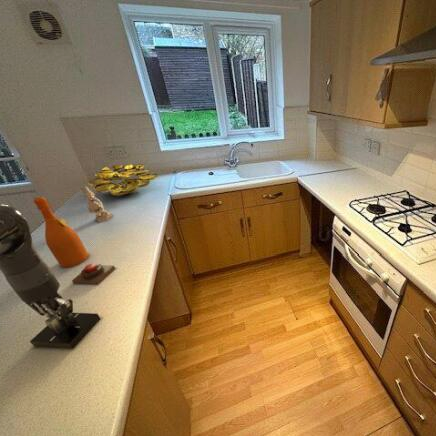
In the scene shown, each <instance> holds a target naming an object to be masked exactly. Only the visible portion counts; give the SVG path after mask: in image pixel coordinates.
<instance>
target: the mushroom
mask: <svg viewBox="0 0 436 436" xmlns="http://www.w3.org/2000/svg"><path fill="white" fill-rule="evenodd" d="M144 167H145V166H144V164H143V163H138V164H136V165H133V164H132V163H131V164H126V165H122V164H114V165H112V169H111V168H109V167H108V166H104V167H102V168H101V171H99V172H97V173H95V174H94V176H95V177H96V178H93V179H91V180H89V181H88V182H86V183H87V185H89V186H94V188H93V192H96V193H101V194H102V193H103V194H104V193H109V192H110V193H111V195H112V196H122V195H129V194H132V193H135V192H136V191H137V190H138V188H145V187H147V186H148V185H150V183H151V181H153V180H155V179H157V177H158V174H157V173H151V174H150V173H149V172H150V170H149V169H146V168H144ZM130 177H137V178H130ZM112 179H113V180H115V179H117V180H118V179H122V180H123V179H124V180H123V181H121V183H120V182H116V183H115V182H112Z"/></svg>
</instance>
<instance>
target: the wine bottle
mask: <svg viewBox="0 0 436 436" xmlns="http://www.w3.org/2000/svg"><path fill="white" fill-rule="evenodd" d="M32 201H33V203H34V205H35V206H36V208H37V210H38V211H40V212H41V215H42V217H43V219H44V223H45V225H44V226H45V227H44V228H45V229H44V237H45V243H46V246H47V247H48V249H49V251H50V252H51V254H52V256H53V257H54V259H56V261H57V263H58V264H59V265H60V266H61V267H63V268H71V267H75V266H77V265H80V264H82V263H84V262H85V261H87V259H88V258H89V254H88V252H87V249H86V247H85V246H84V243H83V242H82V239H81V238H80V236H79V235H78V234H77V232H76V231H75V230H74V229H73V228H71V227H70V226H69V225H68V224H69V223H68V222H67V221H66V220H64V219H63V218H61V217H59V218H58V217H57V216H56V215H55V214H54V213H53V211H52V210H51V205H50V204H49V202H48V201H47V199H46V197H44V196H38V197H35V198H33V200H32Z"/></svg>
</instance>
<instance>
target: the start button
mask: <svg viewBox="0 0 436 436" xmlns="http://www.w3.org/2000/svg"><path fill="white" fill-rule="evenodd" d="M96 264H97V263H90V264H87V265H86V266H84V268H83V269H85V271H86V273H90V272H93V271H95V270H96V269H97V266H96Z"/></svg>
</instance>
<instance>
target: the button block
mask: <svg viewBox="0 0 436 436" xmlns="http://www.w3.org/2000/svg"><path fill="white" fill-rule="evenodd" d="M95 264H96V266H97V269H96V270H95V271H93V272H90V273H86V271H85V269H84V268H83V269H81V272H80V273H79V274H78V275H77V276H75V277H74V278H73V279H71V282H72V284H73V285H100V283H102V282H103V281H104V280H105V279H106V278H107V277H108V276H109V275H110V274H111V273H112V272H114V271H115V270H116V267H115V265H109V264H108V265H107V264H106V265H105V264H101V263H95Z"/></svg>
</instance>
